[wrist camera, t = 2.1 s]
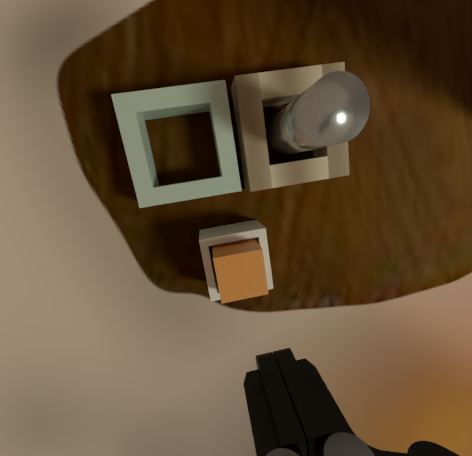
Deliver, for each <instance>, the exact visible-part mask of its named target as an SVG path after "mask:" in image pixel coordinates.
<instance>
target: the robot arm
mask: <svg viewBox="0 0 472 456" xmlns="http://www.w3.org/2000/svg"><path fill="white" fill-rule="evenodd" d="M256 363H257V368H258V370H254V371H250V372H247V373H246V377H245V381H244V389H245V394H246V400H247V405H248V411H249V416H250V422H251V427H252V433H253V438H254V444H255V448H256V454H257V456H459V455H457V454H456V453H454V452H452V451H450V450H448V449H446V448H444V447H442V446H440V445H438V444H436V443H432V442H428V441H418V442H415V443H413V444H412V445H411V446H410V447H409V449H408V453H407V454H406V453H398V452H389V451H382V450H378V449H375V448H373V447H371V446H369V445H367V444H366V443H364V441H362V440H361V439H360V438H358V437H357V436H356V435H355V434H354V432H353V431H352V430H351V428H350V427H349V425H348V423H347V421H346V420H345V418H344V416H343V414H342V412H341V411H340V409H339V407H338V406H337V404H336V402H335V400H334V399H333V397H332V395H331V393H330V392H329V390H328V389H327V386H326V385H325V383H324V381H323V380H322V378H321V376H320V374H319V372H318V371H317V369H316V367H315V366H313V364H311V363H310V362H309V361H308V360H306V359H301V360H296V359H295V358H294V355H293V353H292V351H291V349H290V348H287V349H283V350H278V351H274V352H273V353H272V352H271V353H266V354H261V355H257V356H256Z"/></svg>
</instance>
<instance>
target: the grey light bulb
mask: <svg viewBox="0 0 472 456" xmlns="http://www.w3.org/2000/svg"><path fill="white" fill-rule="evenodd" d="M369 111H370V99H369V94H368V91H367V89H366V86H365V85H364V83H363V82H362V81H361V80H360V79H359V78H358V77H357V76H356V75H354V74H352V73H350V72H347V71H334V72H330V73H328V74H326V75H324V76H323V77H321V78H320V79H319V80H317V81H316V82H315V83H314V84H313V85H311V86H310V87H309V88H308V89H307V90H305V91H304V92H303V93H302V94H300V95H299V96H298V97H297V98H296V99H294V100H293V101H292V102H291V103H290V104H288V105H287V106H286V107H285V108H283V109H282V110H281V111H280V112H279V113H277V114H276V115H275V116H274V117H273V118H272V119H271V120H270V121H269V123H268V124H267V127H266V139H267V144H268V146H269V148H270V149H271V150H272V151H273V152H275V153H277V154H279V155H290V154H294V153H299V152H304V151H308V150H313V149H317V148H322V147H327V146H331V145H336V144H341V143H345V142H347V141H349V140H351V139H353V138H354V137H356V136H357V135H358V134H359V133H360V131H361V130H362V129H363V127H364V126H365V124H366V122H367V119H368V116H369Z"/></svg>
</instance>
